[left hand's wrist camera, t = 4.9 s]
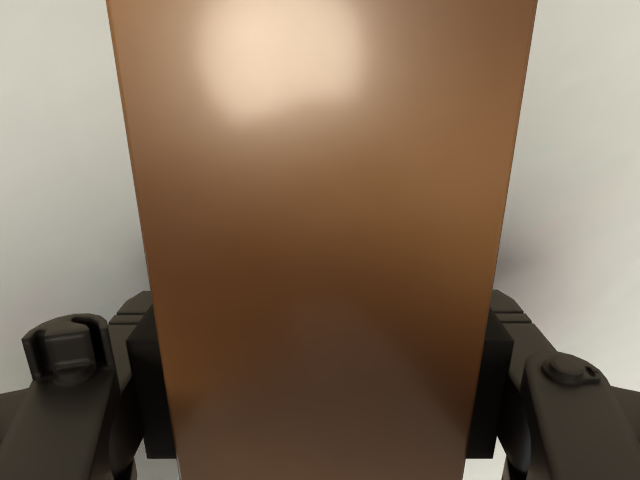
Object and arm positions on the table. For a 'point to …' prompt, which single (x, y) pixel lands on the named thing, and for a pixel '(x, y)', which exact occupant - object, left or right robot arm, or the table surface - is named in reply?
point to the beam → (321, 223)
